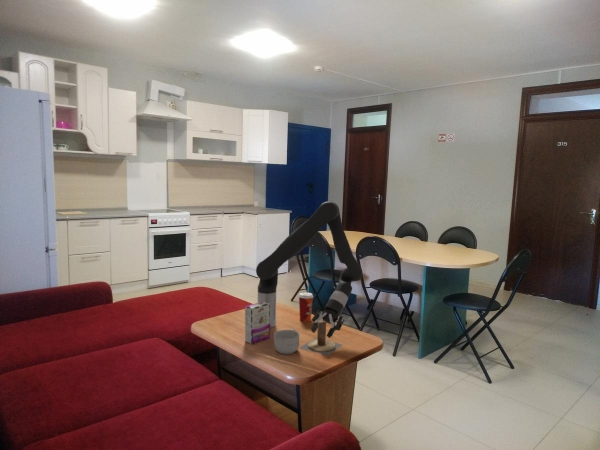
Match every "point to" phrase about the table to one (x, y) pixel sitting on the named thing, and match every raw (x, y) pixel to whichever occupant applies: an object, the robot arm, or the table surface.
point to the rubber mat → (321, 352)
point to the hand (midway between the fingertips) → (320, 334)
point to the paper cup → (305, 306)
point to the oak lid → (321, 340)
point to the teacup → (286, 341)
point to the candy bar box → (257, 322)
